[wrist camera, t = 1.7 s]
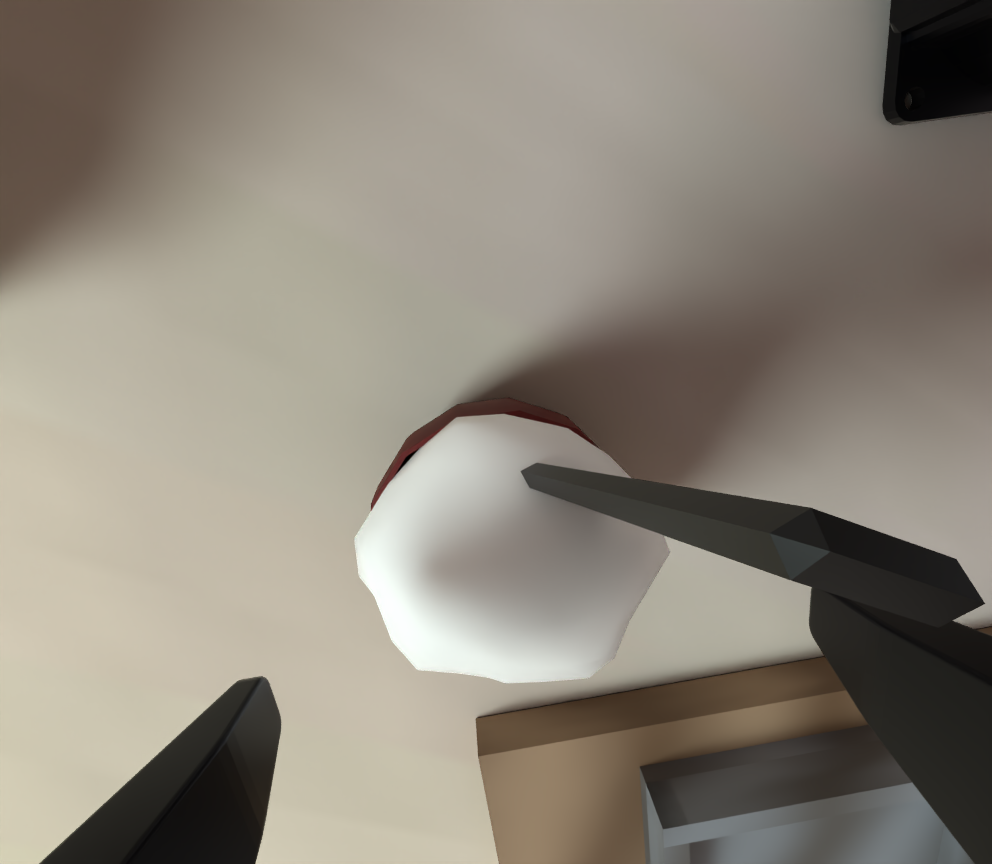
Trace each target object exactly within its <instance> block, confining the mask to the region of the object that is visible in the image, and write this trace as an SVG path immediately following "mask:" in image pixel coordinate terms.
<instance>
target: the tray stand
mask: <svg viewBox="0 0 992 864" xmlns="http://www.w3.org/2000/svg"><path fill="white" fill-rule="evenodd" d="M978 631H981V632H983V633H986V634H989V635H991V636H992V627H989V628H984V629H978ZM476 729H477V745H478V758H479V763H480V768H481V773H482V778H483V783H484V789H485V794H486V799H487V804H488V809H489V814H490V820H491V825H492V830H493V835H494V840H495V845H496V851H497V856H498V861H499V864H974V863H973V861H972V860H971V859H970V858H969V856H968V855H967V854H966V852H965V851H964V850H963V848H962V847H961V846H960V844H959V843H958V842H957V841H956V839H955V838H954V837H953V835H952V834H951V833H950V831H949V830H948V829H947V827H946V826H945V825H944V824H943V822H942V821H941V820H940V818H939V817H938V816H937V814H936V813H935V812H934V810H933V809H932V808H931V807H930V805H929V804H928V803H927V801H926V800H925V799H924V797H923V796H922V795H921V793H920V792H919V791H918V790H917V788H916V787H915V786H914V784H913V783H912V782H911V780H910V779H909V778H908V776H907V775H906V774H905V772H904V771H903V770H902V769H901V767H900V766H899V765H898V763H897V762H896V761H895V759H894V758H893V757H892V755H891V754H890V753H889V752H888V750H887V749H886V748H885V746H884V745H883V744H882V742H881V741H880V740H879V738H878V737H877V736H876V734H875V733H874V732H873V730H872V729H871V728H870V726H869V725H868V723H867V722H866V720H865V719H864V717H863V716H862V714H861V713H860V711H859V710H858V708H857V707H856V705H855V703H854V702H853V700H852V699H851V697H850V696H849V694H848V692H847V691H846V689H845V688H844V686H843V684H842V683H841V681H840V680H839V678H838V676H837V675H836V673H835V672H834V670H833V668H832V667H831V665H830V664H829V662H828V660H827V659H826V657H820V658H815V659H809V660H803V661H798V662H792V663H786V664H781V665H775V666H769V667H764V668H758V669H753V670H747V671H741V672H736V673H730V674H724V675H719V676H713V677H707V678H702V679H696V680H691V681H685V682H679V683H674V684H668V685H662V686H657V687H651V688H645V689H640V690H634V691H629V692H623V693H617V694H612V695H606V696H600V697H595V698H589V699H583V700H578V701H572V702H567V703H561V704H555V705H550V706H544V707H538V708H533V709H527V710H521V711H516V712H510V713H505V714H499V715H493V716H488V717H482V718H476Z"/></svg>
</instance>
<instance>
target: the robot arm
mask: <svg viewBox="0 0 992 864" xmlns="http://www.w3.org/2000/svg"><path fill="white" fill-rule="evenodd" d="M907 93H909V94H910V95H911V99H912V102H911V105H910V108H909V109H907V107H906V106H905V97H906V94H907ZM984 113H992V0H891V9H890V25H889V37H888V48H887V60H886V71H885V83H884V94H883V114H884V116H885V118H886V120H887V121H888V122H890V123H891V124H893V125H905V124H912V123H919V122H926V121H934V120H941V119H948V118H955V117H963V116H970V115H977V114H984ZM809 626H810V631H811V634H812V636H813V638H814V640H815V641H816V643H817V645H818V646H819V648H820V649H821V651H822V652H823V654H824V656H825V657H826V659H827V660H828V662H829V664H830V665H831V667H832V668H833V670H834V672H835V673H836V675H837V676H838V678H839V680H840V681H841V683H842V684H843V686H844V688H845V689H846V691H847V692H848V694H849V696H850V697H851V699H852V700H853V702H854V703H855V705H856V707H857V708H858V710H859V711H860V713H861V714H862V716H863V717H864V719H865V720H866V722H867V723H868V725H869V726H870V728H871V729H872V730H873V732H874V733H875V734H876V736H877V737H878V738H879V740H880V741H881V742H882V744H883V745H884V746H885V748H886V749H887V750H888V752H889V753H890V754H891V755H892V757H893V758H894V759H895V761H896V762H897V763H898V765H899V766H900V767H901V769H902V770H903V771H904V772H905V774H906V775H907V776H908V778H909V779H910V780H911V782H912V783H913V784H914V786H915V787H916V788H917V790H918V791H919V792H920V793H921V795H922V796H923V797H924V799H925V800H926V801H927V803H928V804H929V805H930V807H931V808H932V809H933V810H934V812H935V813H936V814H937V816H938V817H939V818H940V820H941V821H942V822H943V824H944V825H945V826H946V827H947V829H948V830H949V831H950V833H951V834H952V835H953V837H954V838H955V839H956V841H957V842H958V843H959V844H960V846H961V847H962V848H963V850H964V851H965V852H966V854H967V855H968V856H969V858H970V859H971V860H972V861H973V863H974V864H992V636H991V635H989V634H986V633H983V632H981V631H978V630H975V629H973V628H970V627H968V626H965V625H962V624H960V623H957V622H954V621H951V622H949V623H947V624H945V625H943V626H941V627H939V628H938V627H935V626H931V625H928V624H925V623H922V622H919V621H916V620H913V619H910V618H907V617H903V616H900V615H897V614H894V613H891V612H888V611H885V610H882V609H879V608H876V607H872V606H869V605H866V604H863V603H860V602H857V601H854V600H851V599H848V598H844V597H841V596H838V595H835V594H832V593H829V592H826V591H823V590H820V589H816V588H813V587H812V589H811V600H810V615H809ZM280 733H281V717H280V713H279V710H278V707H277V704H276V701H275V698H274V695H273V692H272V690H271V687H270V684H269V682H268V680H267V679H266V678H265V677H262V676H260V677H254V678H248V679H242V680H239V681H237V682H236V683H235V684H233V685H232V686H231V687H230V688H229V689H228V690H227V691H226V692H225V693H224V694H223V695H222V696H220V697H219V698H218V699H217V700H216V701H215V702H214V703H213V704H212V705H211V706H210V707H209V708H207V709H206V710H205V711H204V712H203V713H202V714H201V715H200V716H199V717H198V718H197V719H196V720H194V721H193V722H192V723H191V724H190V725H189V726H188V727H187V728H186V729H185V730H184V731H183V732H181V733H180V734H179V735H178V736H177V737H176V738H175V739H174V740H173V741H172V742H171V743H170V744H168V745H167V746H166V747H165V748H164V749H163V750H162V751H161V752H160V753H159V754H158V755H157V756H155V757H154V758H153V759H152V760H151V761H150V762H149V763H148V764H147V765H146V766H145V767H143V768H142V769H141V770H140V771H139V772H138V773H137V774H136V775H135V776H134V777H133V778H132V779H130V780H129V781H128V782H127V783H126V784H125V785H124V786H123V787H122V788H121V789H120V790H119V791H117V792H116V793H115V794H114V795H113V796H112V797H111V798H110V799H109V800H108V801H107V802H106V803H104V804H103V805H102V806H101V807H100V808H99V809H98V810H97V811H96V812H95V813H94V814H93V815H91V816H90V817H89V818H88V819H87V820H86V821H85V822H84V823H83V824H82V825H81V826H80V827H78V828H77V829H76V830H75V831H74V832H73V833H72V834H71V835H70V836H69V837H68V838H66V839H65V840H64V841H63V842H62V843H61V844H60V845H59V846H58V847H57V848H56V849H55V850H53V851H52V852H51V853H50V854H49V855H48V856H47V857H46V858H45V859H44V860H43V861H42V862H40V863H39V864H255V863H256V859H257V855H258V852H259V848H260V844H261V840H262V836H263V831H264V826H265V821H266V815H267V810H268V804H269V798H270V792H271V786H272V780H273V774H274V768H275V762H276V757H277V751H278V745H279V739H280Z"/></svg>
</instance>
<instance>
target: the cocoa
mask: <svg viewBox="0 0 992 864" xmlns="http://www.w3.org/2000/svg"><path fill="white" fill-rule="evenodd" d="M663 535H664V536H667V537H670V538H673V539H676V540H678V541H681V542H684V543H687V544H690V545H693V546H695V547H698V548H701V549H704V550H707V551H710V552H712V553H715V554H718V555H721V556H724V557H726V558H729V559H732V560H735V561H738V562H741V563H743V564H746V565H749V566H752V567H755V568H758V569H760V570H763V571H766V572H769V573H772V574H775V575H777V576H780V577H783V578H786V579H789V580H792V581H795V582H798V583H801V584H804V585H807V586H810V587H813V588H816V589H820V590H823V591H826V592H829V593H832V594H835V595H838V596H841V597H844V598H848V599H851V600H854V601H857V602H860V603H863V604H866V605H869V606H872V607H876V608H879V609H882V610H885V611H888V612H891V613H894V614H897V615H900V616H903V617H907V618H910V619H913V620H916V621H919V622H922V623H925V624H928V625H931V626H935V627H938V628H939V627H941V626H943V625H945V624H947V623H949V622H951V621H952V620H954V619H956V618H958V617H960V616H962V615H964V614H966V613H968V612H970V611H972V610H974V609H976V608H978V607H980V606H981V605H983V604H985V603H984V601H983V600H982V598H981V597H980V595H979V594H978V592H977V590H976V589H975V587H974V586H973V584H972V583H971V581H970V580H969V578H968V577H967V575H966V573H965V572H964V570H963V569H962V567H961V566H960V564H959V563H958V561H957V559H955V558H952V557H949V556H946V555H943V554H941V553H938V552H935V551H932V550H929V549H926V548H923V547H921V546H918V545H915V544H912V543H909V542H906V541H904V540H901V539H898V538H895V537H892V536H889V535H887V534H884V533H881V532H878V531H875V530H872V529H869V528H867V527H864V526H861V525H858V524H855V523H852V522H850V521H847V520H844V519H841V518H838V517H835V516H833V515H830V514H827V513H824V512H821V511H818V510H815V509H813V508H808V507H802V506H796V505H790V504H784V503H778V502H772V501H766V500H760V499H754V498H748V497H742V496H736V495H730V494H723V493H717V492H711V491H705V490H699V489H693V488H687V487H681V486H675V485H669V484H663V483H657V482H651V481H645V480H639V479H633V478H631V477H630V476H629V475H628V474H627V473H626V472H625V471H624V470H623V469H622V468H621V467H620V466H619V465H618V464H617V463H616V462H615V461H614V460H613V459H612V458H611V457H610V456H609V455H608V454H606V453H605V452H603V451H602V450H601V449H600V448H599V447H598V446H597V445H596V444H595V443H593V442H592V441H591V440H590V439H589V438H588V437H587V436H586V435H585V434H584V433H583V432H582V431H581V430H580V429H579V428H578V427H577V426H576V425H575V424H574V423H573V422H572V421H571V420H570V419H569V418H568V417H567V416H564V415H561V414H559V413H556V412H553V411H550V410H547V409H543V408H540V407H537V406H534V405H531V404H528V403H524V402H521V401H518V400H515V399H512V398H501V399H493V400H486V401H479V402H471V403H464V404H457V405H456V406H454V407H452V408H451V409H449V410H448V411H446V412H445V413H443V414H441V415H440V416H438V417H437V418H435V419H434V420H432V421H431V422H429V423H427V424H426V425H424V426H423V427H421V428H420V429H418V430H416V431H415V432H413V433H412V434H411V435H410V436H409V437H408V438H407V439H406V440H405V442H404V444H403V445H402V447H401V449H400V450H399V452H398V454H397V455H396V457H395V459H394V460H393V462H392V464H391V465H390V467H389V469H388V470H387V472H386V474H385V475H384V477H383V479H382V480H381V482H380V484H379V485H378V488H377V490H376V493H375V495H374V498H373V500H372V503H371V512H370V514H369V515H368V517H367V519H366V520H365V522H364V524H363V525H362V527H361V528H360V530H359V532H358V533H357V535H356V537H355V538H354V540H355V549H356V557H357V565H358V573H359V577H360V578H361V579H362V581H363V582H364V583H365V585H366V586H367V587H368V588H369V590H370V591H371V592H372V594H373V595H374V597H375V599H376V602H377V604H378V607H379V609H380V612H381V614H382V617H383V620H384V622H385V625H386V627H387V630H388V632H389V635H390V637H391V640H392V642H393V643H394V644H395V645H396V646H397V647H398V649H399V650H400V651H401V652H402V653H403V654H404V655H405V656H406V658H407V659H408V660H409V661H410V662H411V663H412V664H413V665H414V667H415V668H416V669H417V670H424V671H436V672H448V673H459V674H466V675H473V676H480V677H486V678H492V679H494V680H497V681H500V682H503V683H526V682H548V681H561V680H574V679H587V678H589V677H591V676H592V675H593V674H595V673H596V672H597V671H598V670H600V669H601V668H602V667H604V666H605V665H606V664H607V663H609V662H610V661H611V660H613V659H614V657H615V655H616V653H617V650H618V648H619V645H620V643H621V640H622V638H623V635H624V633H625V630H626V628H627V626H628V623H629V621H630V619H631V617H632V615H633V614H634V612H635V610H636V609H637V607H638V605H639V604H640V602H641V600H642V599H643V597H644V595H645V594H646V592H647V590H648V589H649V587H650V585H651V584H652V582H653V580H654V579H655V577H656V575H657V573H658V572H659V570H660V568H661V567H662V565H663V563H664V562H665V560H666V558H667V557H668V555H669V553H670V551H669V548H668V546H667V543H666V541H665V538H664V536H663Z"/></svg>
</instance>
